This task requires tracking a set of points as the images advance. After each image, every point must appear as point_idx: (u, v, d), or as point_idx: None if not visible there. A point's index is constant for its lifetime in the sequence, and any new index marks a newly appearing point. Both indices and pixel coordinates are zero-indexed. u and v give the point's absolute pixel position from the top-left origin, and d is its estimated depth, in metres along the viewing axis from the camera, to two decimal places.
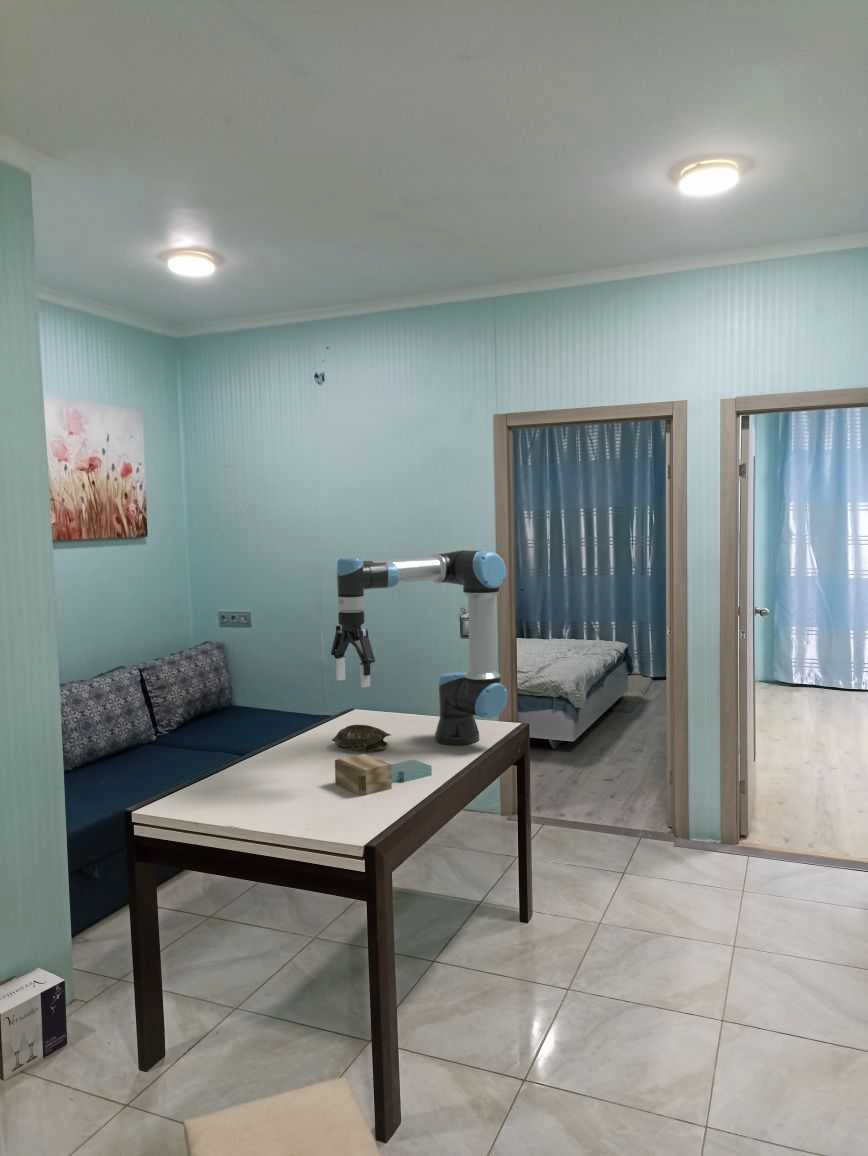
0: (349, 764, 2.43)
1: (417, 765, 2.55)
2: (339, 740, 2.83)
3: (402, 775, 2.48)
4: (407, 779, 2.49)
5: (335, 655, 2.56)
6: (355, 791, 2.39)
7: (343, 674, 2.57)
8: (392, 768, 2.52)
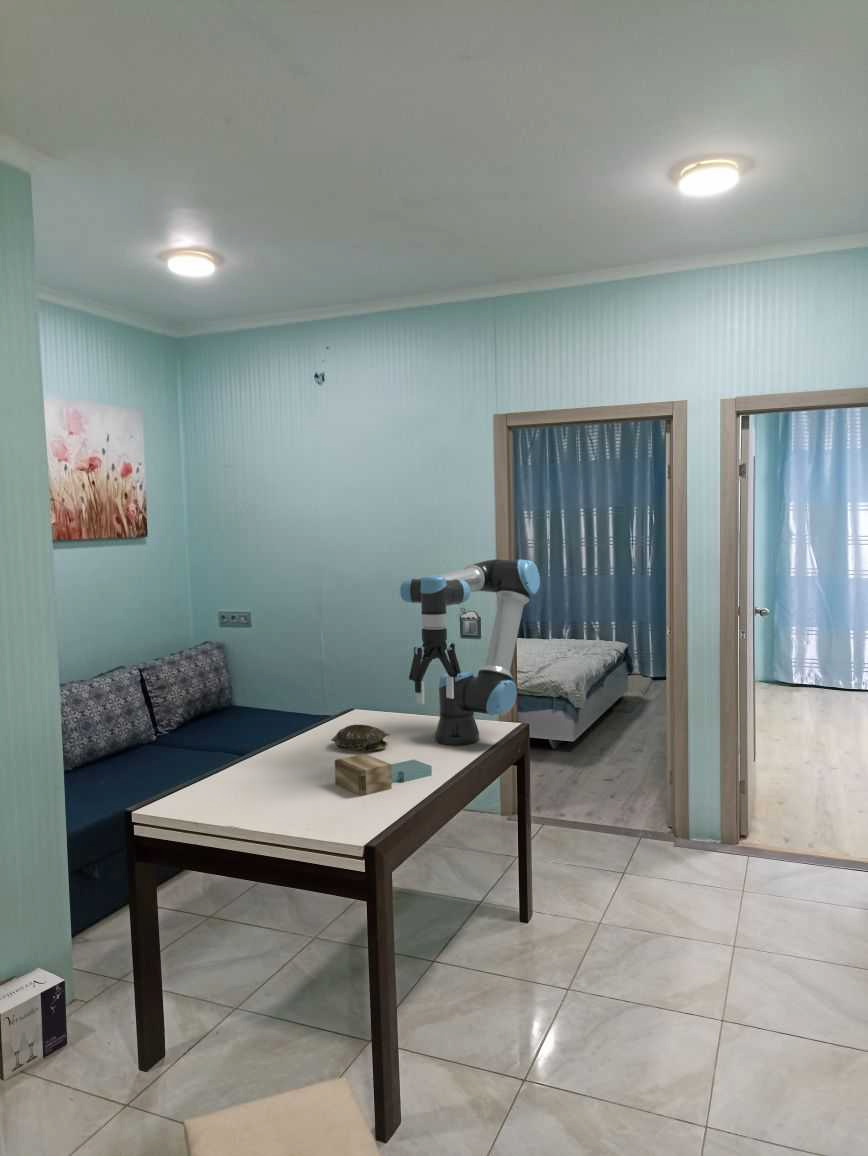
0: (349, 764, 2.43)
1: (417, 765, 2.55)
2: (339, 739, 2.83)
3: (402, 775, 2.48)
4: (407, 779, 2.49)
5: None
6: (355, 791, 2.39)
7: (450, 693, 2.62)
8: (392, 768, 2.52)
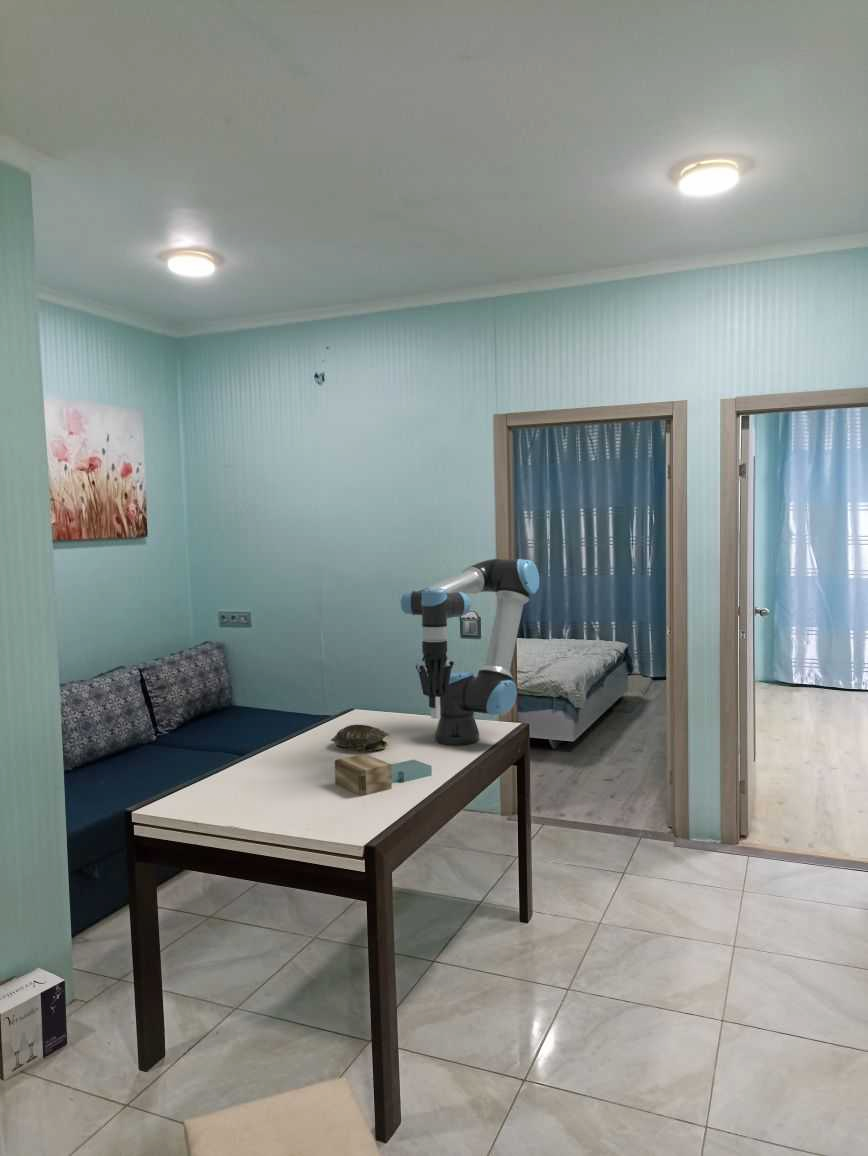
0: (349, 764, 2.43)
1: (417, 765, 2.55)
2: (339, 739, 2.83)
3: (402, 775, 2.48)
4: (407, 779, 2.49)
5: None
6: (355, 791, 2.39)
7: None
8: (392, 768, 2.52)
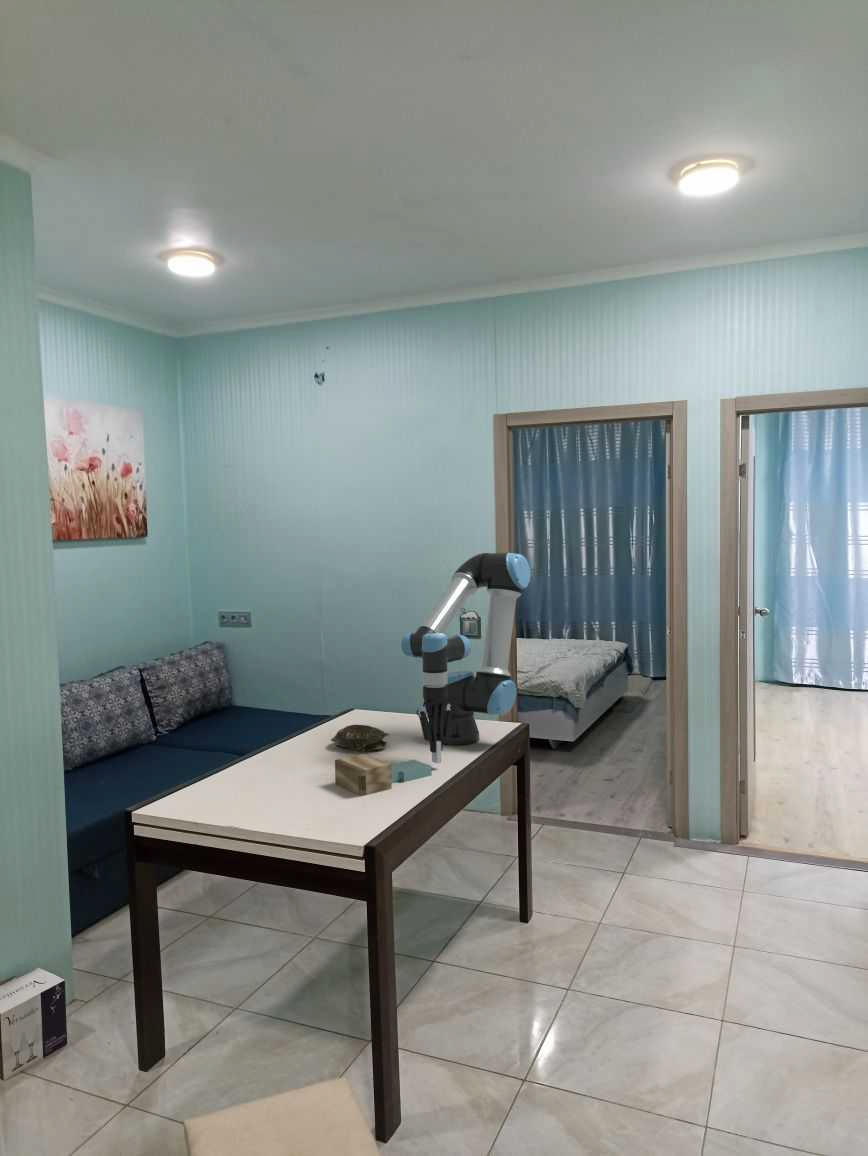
0: (349, 764, 2.43)
1: (417, 765, 2.55)
2: (339, 739, 2.83)
3: (402, 775, 2.48)
4: (407, 779, 2.49)
5: None
6: (355, 791, 2.39)
7: None
8: (392, 768, 2.52)
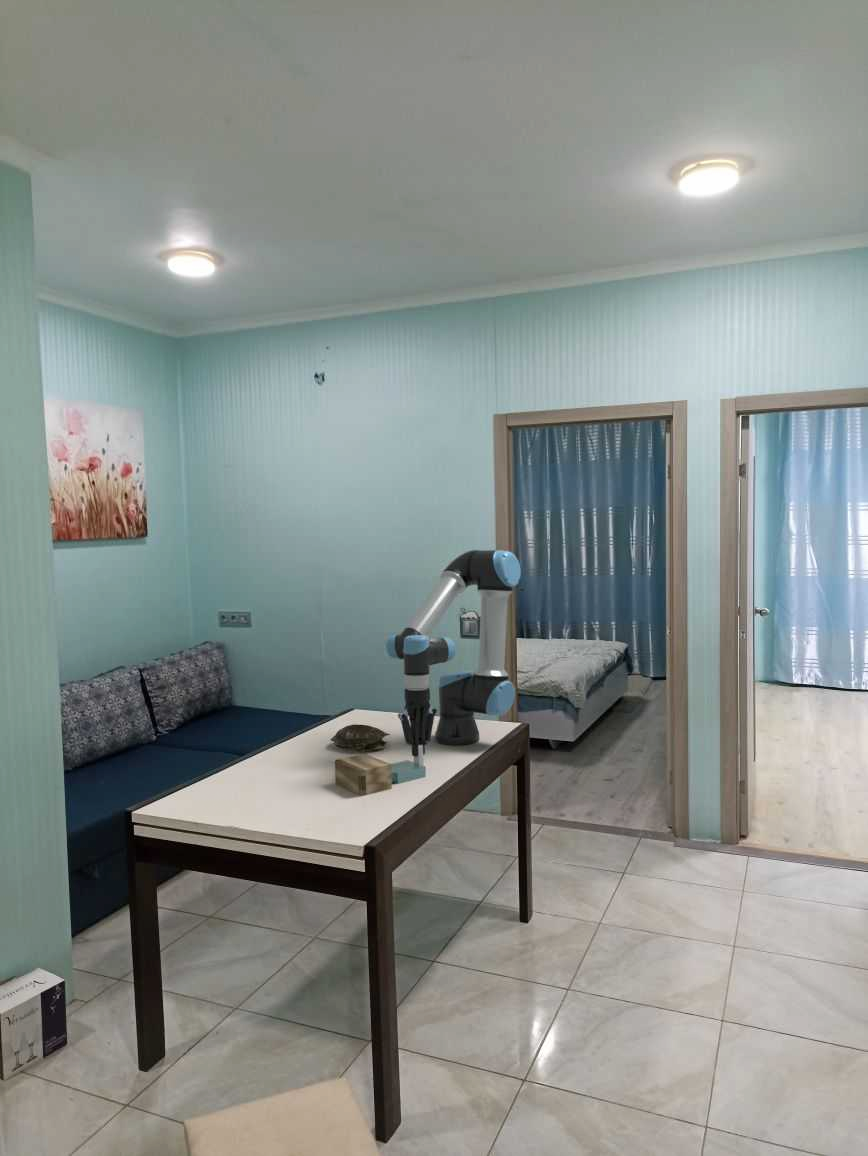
0: (349, 764, 2.43)
1: (411, 766, 2.53)
2: (338, 739, 2.83)
3: (396, 776, 2.47)
4: (401, 780, 2.47)
5: None
6: (355, 791, 2.39)
7: None
8: None
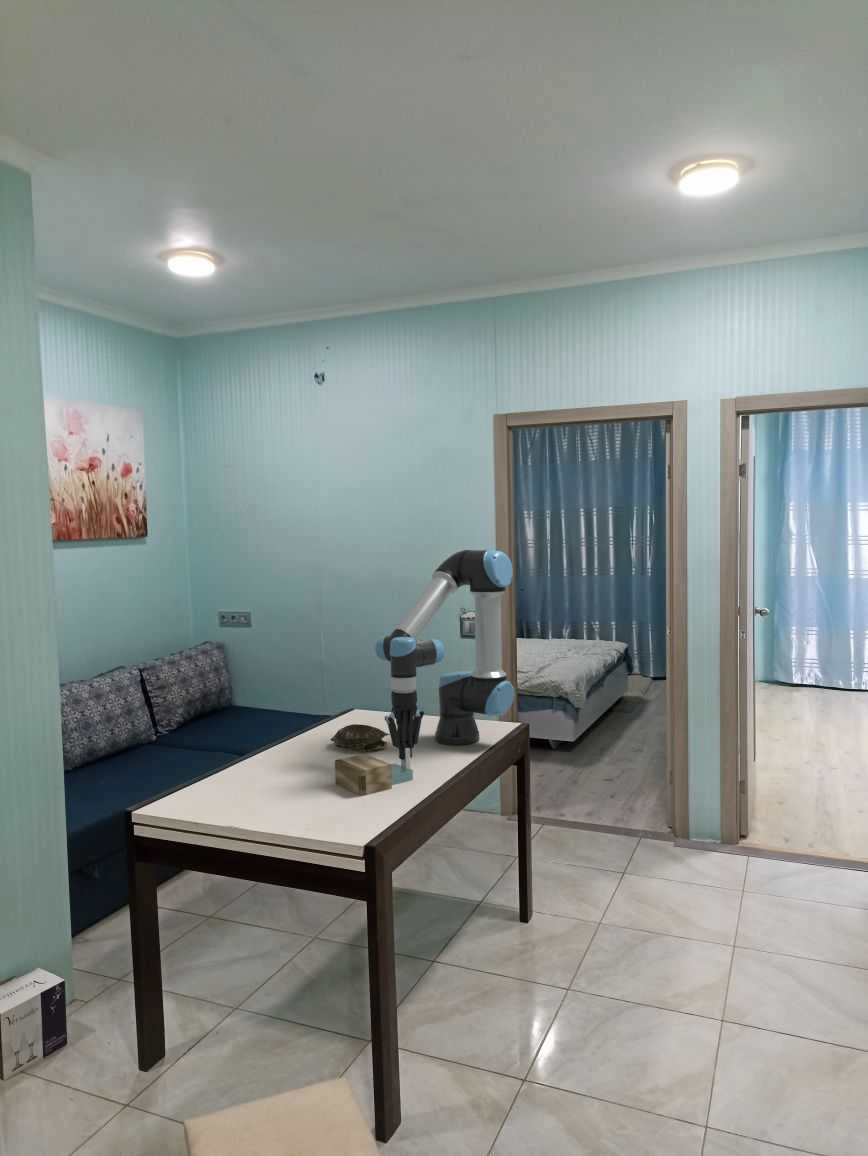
0: (349, 764, 2.43)
1: (398, 769, 2.51)
2: (338, 739, 2.83)
3: None
4: None
5: None
6: (355, 791, 2.39)
7: None
8: None
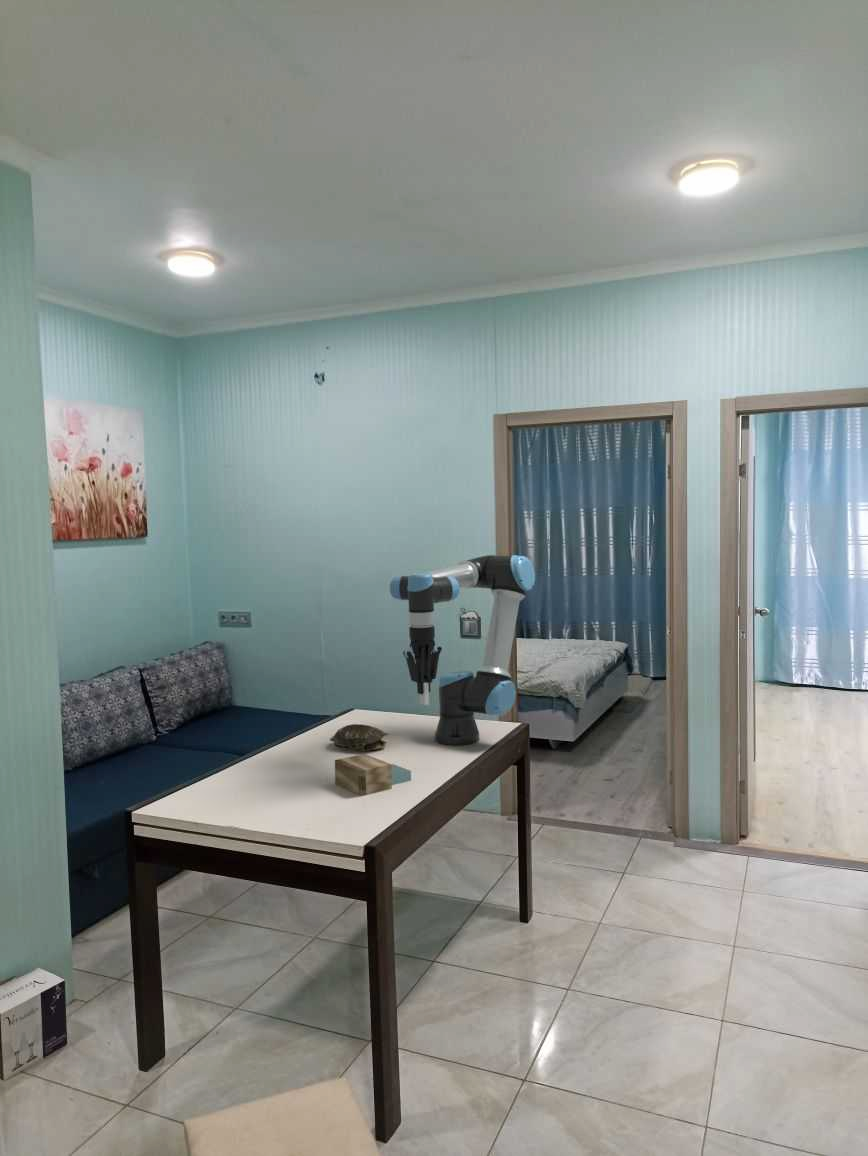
0: (349, 764, 2.43)
1: (396, 770, 2.50)
2: (338, 739, 2.84)
3: None
4: None
5: None
6: (355, 791, 2.39)
7: None
8: None
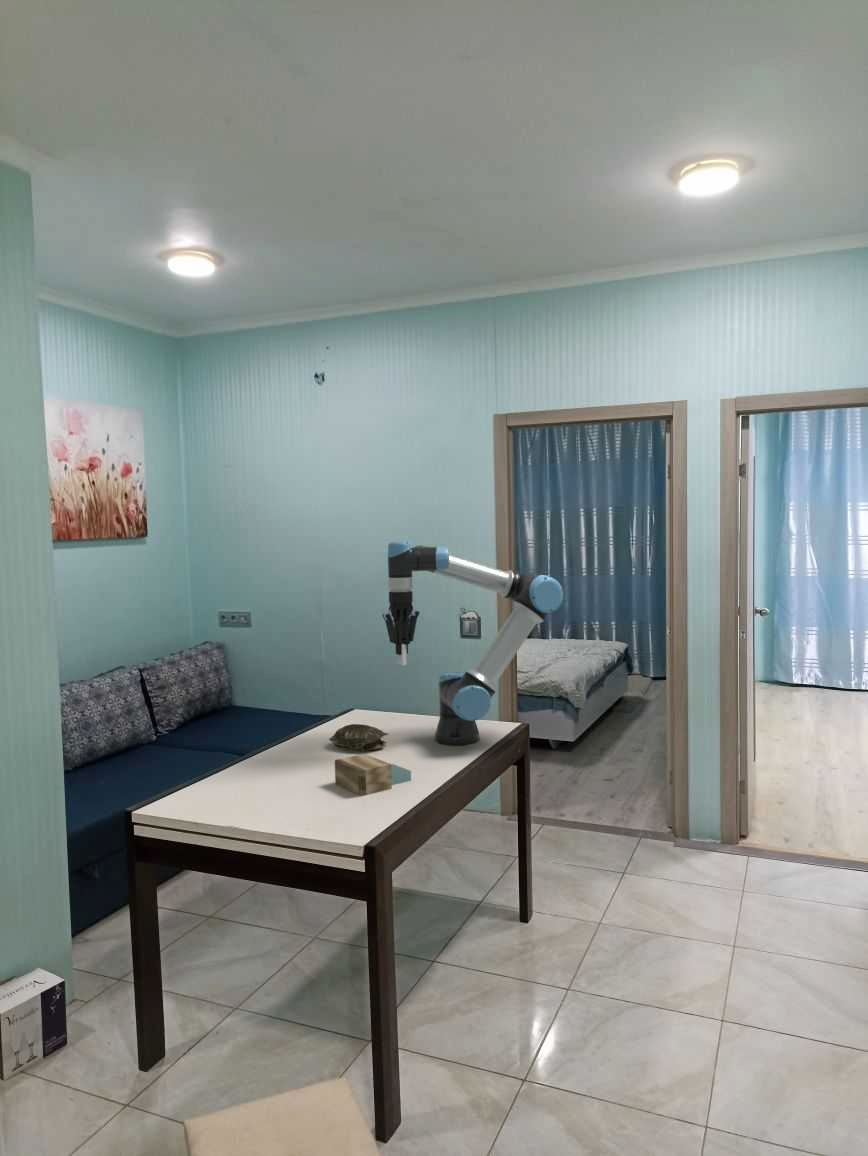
0: (349, 764, 2.43)
1: (396, 770, 2.50)
2: (337, 739, 2.84)
3: None
4: None
5: None
6: (355, 791, 2.39)
7: None
8: None
